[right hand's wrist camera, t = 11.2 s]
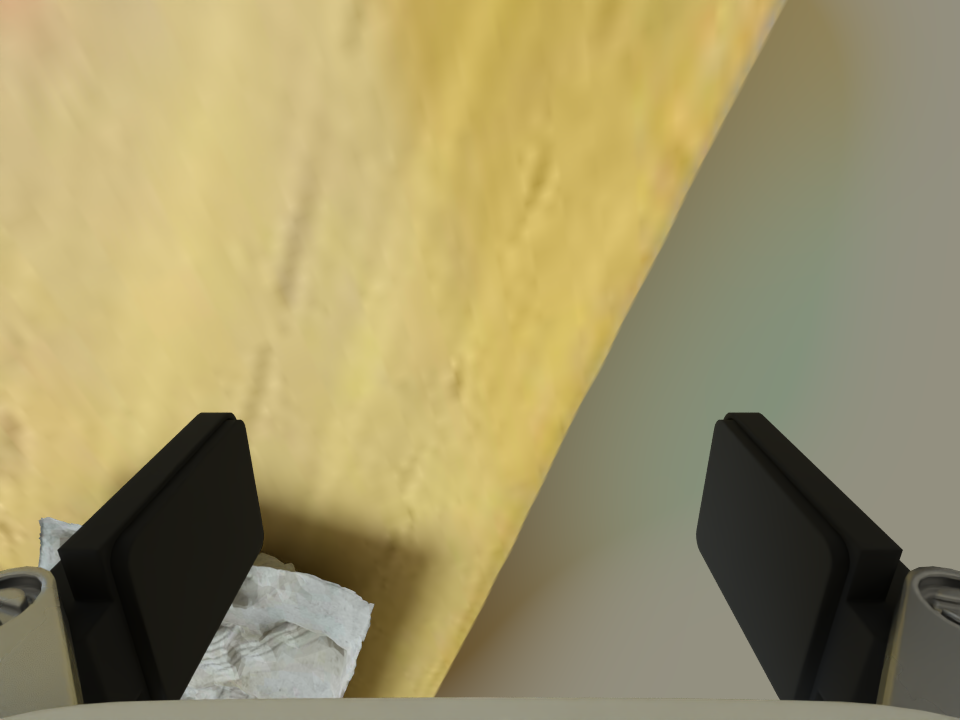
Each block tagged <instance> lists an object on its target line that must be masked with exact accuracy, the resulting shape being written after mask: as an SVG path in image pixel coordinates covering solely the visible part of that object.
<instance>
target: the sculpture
mask: <svg viewBox="0 0 960 720" xmlns="http://www.w3.org/2000/svg"><path fill="white" fill-rule="evenodd" d="M39 523H40V526H41V533H40V538H39V539H40V541H41V542H40V544H41V546H40V558H39V566H38V567H41V568H44V569H46V570H48V571H50V570H51V569H52V568H53V567H54V566H55V565H56V564H57V563H58V562H59V561H60V557H59V554H58V551H57V550H58V549H59V548H60V547H61V546H62V545H63V544H64V543H65V542H66V541H67V540H68V539H69V538H70V537H71V536H72V535H73V534H74V533H75V532H76V531H77V530H78V529H79V528H81V527H82V526H81V525H78V524H77V525H76V524H72V523H71V524H68V523H66V522H62V521H59V520H56V519H53V518H50V517H47V518H44V519H43V518H41V520H39ZM373 607H374V604H372V603H369V604H368V602H367V601H365V600H362V597H360V596H358V595H356V592H354V591H353V590H351V589H348V588H345V587H341V586H340V585H338V584H335V583H332V582H328V581H325V580H322V579H320V578H318V577H316V576H314V575H311V574H307V573H301V572H297V571H295V568H294V565H293V564H292V563H288V564H284V563H282V562H281V561H279V560H278V559H277V558H276V557H273V556H270V555H268V554H265V553H263V552H262V553H260V554H258V556H257V558H256V560H255V562H254V564H253V566H252V567H251V569H250V571H249V573H248V575H247V577H246V578H245V580H244V582H243V584H242V586H241V588H240V590H239V591H238V593H237V595H236V597H235V599H234V601H233V603H232V604H231V606H230V608H229V610H228V612H227V614H226V616H225V617H224V619H223V621H222V623H221V625H220V627H219V629H218V630H217V632H216V634H215V636H214V638H213V640H212V642H211V643H210V645H209V647H208V649H207V651H206V653H205V655H204V656H203V658H202V660H201V662H200V664H199V666H198V668H197V669H196V671H195V673H194V675H193V677H192V679H191V681H190V682H189V684H188V686H187V688H186V690H185V692H184V694H183V695H182V697H181V699H180V700H207V699H273V698H343V696H344V693H345V691H346V688H347V686H348V683H349V681H350V680H351V679H352V676H353V675H354V669H355V667H356V659H357V657H358V654H359V652H360V649H361V647H362V641H363V642H364V640H365V637H366V634H367V631H368V629H369V627H370V624H371V623H370V620H371V616H370V615H371V612H372V609H373Z"/></svg>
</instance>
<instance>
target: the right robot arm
mask: <svg viewBox="0 0 960 720" xmlns="http://www.w3.org/2000/svg"><path fill="white" fill-rule="evenodd" d="M263 539H264V531H263V525H262V519H261V513H260V507H259V502H258V496H257V490H256V485H255V479H254V473H253V467H252V462H251V456H250V450H249V444H248V439H247V433H246V428H245V424H244V422H243V421H242V420H236V417H235V416H234V414H232V413H200V414H198V415H197V416H196V417H195V418H194V419H193V420H192V421H191V422H190V423H189V424H188V425H187V426H186V427H184V428H183V429H182V430H181V431H180V432H179V433H178V434H177V435H176V436H175V437H174V438H173V439H172V440H171V441H170V442H169V443H168V444H167V445H166V446H165V447H164V448H163V449H162V450H161V451H160V452H158V453H157V454H156V455H155V456H154V457H153V458H152V459H151V460H150V461H149V462H148V463H147V464H146V465H145V466H144V467H143V468H142V469H141V470H140V471H139V472H138V473H137V474H136V475H135V476H134V477H133V478H131V479H130V480H129V481H128V482H127V483H126V484H125V485H124V486H123V487H122V488H121V489H120V490H119V491H118V492H117V493H116V494H115V495H114V496H113V497H112V498H111V499H110V500H109V501H108V502H107V503H105V504H104V505H103V506H102V507H101V508H100V509H99V510H98V511H97V512H96V513H95V514H94V515H93V516H92V517H91V518H90V519H89V520H88V521H87V522H86V523H85V524H84V525H83V526H82V527H81V528H79V529H78V530H77V531H76V532H75V533H74V534H73V535H72V536H71V537H70V538H69V539H68V540H67V541H66V542H65V543H64V544H63V545H62V546H61V547H60V548H59V549H58V550H57V551H58V554H59V557H60V561H59V562H58V563H57V564H56V565H55V566H54V567H53V568H52V569H51V570H50V571H48V570H46V569H44V568H41V567H28V566H26V567H19V568H12V569H7V570H4V571H0V720H960V571H956V570H953V569H948V568H941V567H934V566H932V567H919V568H916V569H914V570H912V571H910V570H909V569H908V568H907V567H906V566H905V565H904V564H903V563H902V562H901V561H900V557H901V554H902V551H903V550H902V549H901V548H900V547H899V546H898V545H897V544H896V543H895V542H894V541H893V540H892V539H891V538H890V537H889V536H888V535H887V534H886V533H885V532H884V531H883V530H881V528H879V527H878V526H877V525H876V524H875V523H874V522H873V521H872V520H871V519H870V518H869V517H868V516H867V515H866V514H865V513H864V512H863V511H862V510H861V509H860V508H859V507H858V506H857V505H856V504H854V503H853V502H852V501H851V500H850V499H849V498H848V497H847V496H846V495H845V494H844V493H843V492H842V491H841V490H840V489H839V488H838V487H837V486H836V485H835V484H834V483H833V482H832V481H831V480H830V479H828V478H827V477H826V476H825V475H824V474H823V473H822V472H821V471H820V470H819V469H818V468H817V467H816V466H815V465H814V464H813V463H812V462H811V461H810V460H809V459H808V458H807V457H806V456H805V455H804V454H803V453H802V452H800V451H799V450H798V449H797V448H796V447H795V446H794V445H793V444H792V443H791V442H790V441H789V440H788V439H787V438H786V437H785V436H784V435H783V434H782V433H781V432H780V431H779V430H778V429H777V428H776V427H774V426H773V425H772V424H771V423H770V422H769V421H768V420H767V419H766V418H765V417H764V416H763V415H762V414H760V413H728V414H726V416H725V417H724V420H718V421H717V422H716V424H715V428H714V433H713V439H712V445H711V450H710V456H709V462H708V467H707V473H706V479H705V485H704V490H703V496H702V502H701V508H700V513H699V519H698V525H697V531H696V539H697V545H698V548H699V550H700V552H701V554H702V556H703V558H704V560H705V562H706V564H707V565H708V567H709V569H710V571H711V573H712V575H713V577H714V578H715V580H716V582H717V584H718V586H719V588H720V590H721V591H722V593H723V595H724V597H725V599H726V601H727V603H728V604H729V606H730V608H731V610H732V612H733V614H734V616H735V617H736V619H737V621H738V623H739V625H740V627H741V629H742V630H743V632H744V634H745V636H746V638H747V640H748V642H749V643H750V645H751V647H752V649H753V651H754V653H755V655H756V656H757V658H758V660H759V662H760V664H761V666H762V667H763V669H764V671H765V673H766V675H767V677H768V679H769V681H770V682H771V684H772V686H773V688H774V690H775V692H776V694H777V695H778V697H779V699H780V700H753V699H687V698H686V699H685V698H514V697H511V698H510V697H448V698H447V697H446V698H273V699H207V700H180V699H181V697H182V695H183V694H184V692H185V690H186V688H187V686H188V684H189V682H190V681H191V679H192V677H193V675H194V673H195V671H196V669H197V668H198V666H199V664H200V662H201V660H202V658H203V656H204V655H205V653H206V651H207V649H208V647H209V645H210V643H211V642H212V640H213V638H214V636H215V634H216V632H217V630H218V629H219V627H220V625H221V623H222V621H223V619H224V617H225V616H226V614H227V612H228V610H229V608H230V606H231V604H232V603H233V601H234V599H235V597H236V595H237V593H238V591H239V590H240V588H241V586H242V584H243V582H244V580H245V578H246V577H247V575H248V573H249V571H250V569H251V567H252V566H253V564H254V562H255V560H256V558H257V556H258V554H259V553H260V550H261V548H262V545H263Z"/></svg>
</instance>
